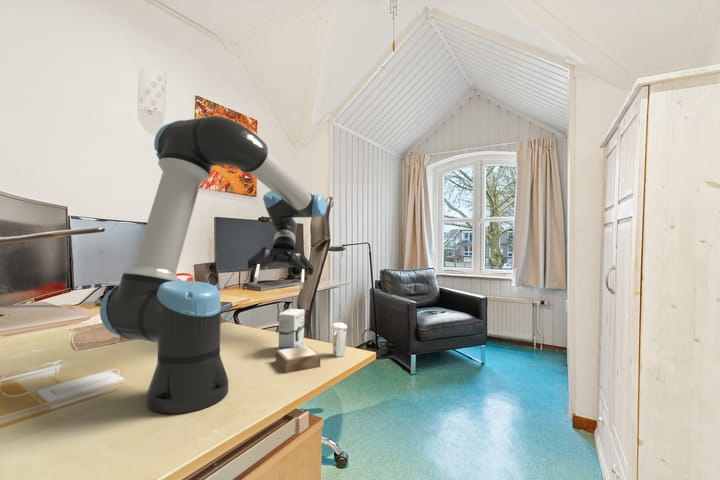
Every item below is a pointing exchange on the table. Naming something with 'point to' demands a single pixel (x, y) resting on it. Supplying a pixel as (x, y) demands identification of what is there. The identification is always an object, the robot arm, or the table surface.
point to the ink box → (291, 328)
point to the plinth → (297, 358)
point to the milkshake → (338, 338)
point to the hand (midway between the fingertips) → (279, 283)
